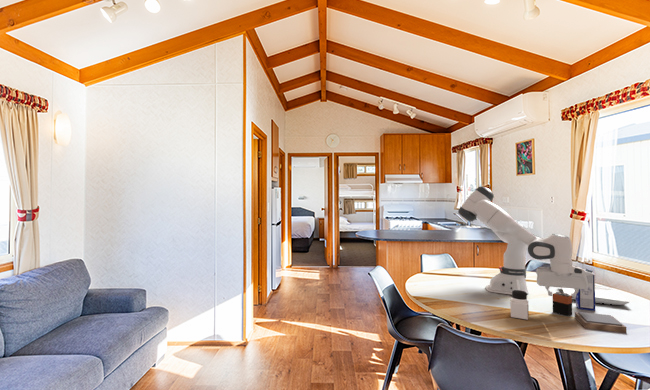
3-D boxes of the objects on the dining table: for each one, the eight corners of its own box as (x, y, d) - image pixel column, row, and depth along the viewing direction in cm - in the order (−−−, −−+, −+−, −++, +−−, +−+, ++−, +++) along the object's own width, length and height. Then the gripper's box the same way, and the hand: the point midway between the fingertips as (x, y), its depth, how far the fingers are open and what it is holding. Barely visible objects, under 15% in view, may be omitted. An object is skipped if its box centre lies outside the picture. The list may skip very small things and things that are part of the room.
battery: (568, 316, 157) (567, 295, 157) (552, 312, 163) (552, 291, 163) (572, 314, 159) (572, 293, 159) (556, 310, 165) (556, 290, 165)
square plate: (565, 300, 182) (565, 293, 182) (557, 288, 206) (557, 282, 206) (630, 308, 169) (630, 300, 169) (614, 294, 194) (613, 287, 194)
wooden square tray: (585, 328, 143) (585, 321, 143) (574, 317, 156) (574, 310, 156) (626, 333, 138) (626, 325, 138) (612, 321, 151) (612, 314, 151)
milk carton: (575, 305, 174) (575, 266, 174) (591, 306, 171) (591, 267, 171) (578, 309, 168) (578, 269, 168) (595, 311, 164) (594, 270, 165)
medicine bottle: (528, 320, 153) (528, 293, 153) (510, 317, 157) (510, 291, 157) (528, 315, 159) (528, 290, 159) (511, 312, 163) (511, 288, 163)
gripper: (537, 267, 162) (537, 296, 162) (589, 270, 154) (589, 300, 154) (534, 265, 168) (535, 292, 168) (584, 268, 160) (585, 297, 160)
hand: (561, 296), depth 161 cm, fingers open, 8 cm apart
